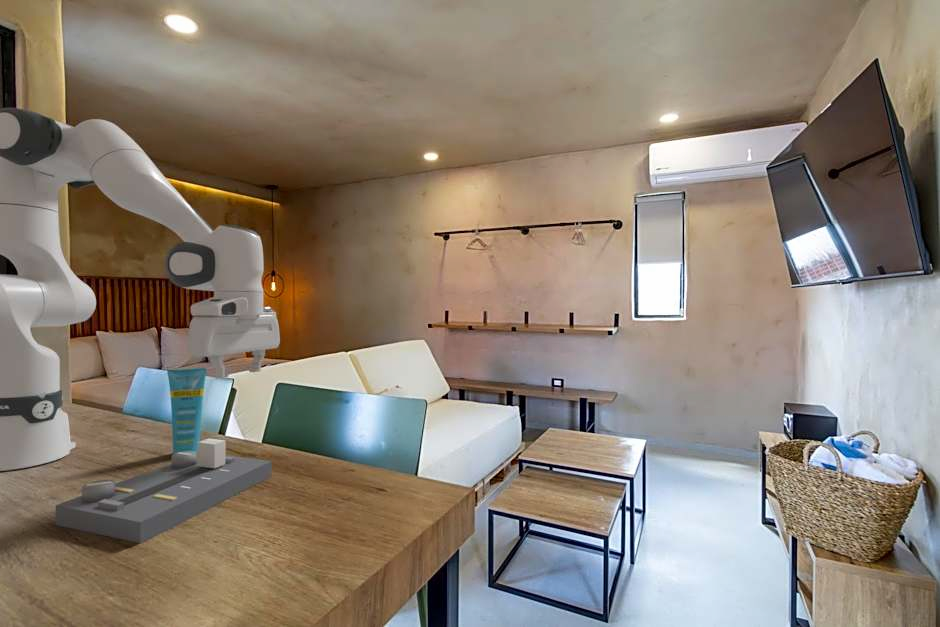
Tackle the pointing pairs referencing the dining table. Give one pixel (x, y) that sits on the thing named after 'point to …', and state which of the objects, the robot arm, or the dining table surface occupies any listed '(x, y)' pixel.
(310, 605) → the dining table surface
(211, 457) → the fader cap
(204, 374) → the tube
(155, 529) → the console
